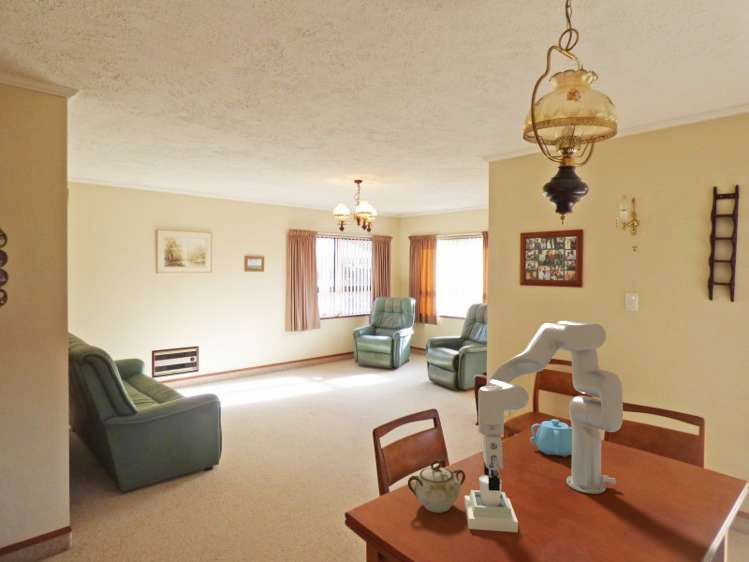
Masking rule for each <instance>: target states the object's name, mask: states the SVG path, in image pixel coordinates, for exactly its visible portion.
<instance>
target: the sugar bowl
mask: <svg viewBox="0 0 749 562" xmlns="http://www.w3.org/2000/svg"><path fill="white" fill-rule="evenodd" d="M435 464H438V465H436V466H434V465H435ZM459 474H461V475H462V477H461V480H459V479H460V478H459ZM465 480H466V473H465V471H464V470H462V469H456V470H453V471H452V470H449V469H447V468H445V467H442V462H441V461H440V460H438V459H434V460H433V461H432V462H431V464H430V467H427V468H424V469H422V470H421V471H420V472H419V473H418V474H417V475H412V476H411V475H410V477H408V480H407V486H408V489H409V490H410V491H411V492H412V493H413V495H414V496H415V497H416V498H417V499H418V500H419V502H421V504H422V505H423V506H424V508H425V509H426V510H427V511H429V512H432V513H438V514H440V513H446V512H448V511H449V510H450V509H451V507H452V506H453V505H454V503H455V502H456V501H457V500H458V498H459V496H460V493H461V489H462V485H463V484H464V482H465ZM413 481H414V482H413ZM412 482H413V487H412V485H411V484H412Z"/></svg>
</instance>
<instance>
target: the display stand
mask: <svg viewBox="0 0 749 562" xmlns="http://www.w3.org/2000/svg"><path fill="white" fill-rule="evenodd" d="M464 508H465V514H466V521H467V526H468V529H469V530H479V531H480V530H481V531H495V532H496V531H497V532H506V533H507V532H508V533H509V532H510V533H518V532H519V521H518V518H517V516H516V513H515V510H514V508H513V506H512V503H511V499H510V498H509V497H507V495H506V492H505V491H501V495H500V504H499V505H498V506H496V507H493V506H486V505H484V504H482V502H481V496H480V490H479V489H477V490H474V489H470V493H469V495H464Z"/></svg>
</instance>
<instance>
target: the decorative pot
mask: <svg viewBox="0 0 749 562" xmlns="http://www.w3.org/2000/svg"><path fill="white" fill-rule="evenodd" d="M536 427H538V429H537V432H536V433H535V428H536ZM530 430H531V433H532V436H531V437H530V438H529V440H530V443H532V444H534V445H535V444H536V447H537V448H538V450H539V451H540V452H542V453H543V455H546V456H550V455H551V456H552V455H554V456H560V457H562V456H563V458H566V457H568V456H572V426H569V425H568V424H567V423H565V422H562V421H561V422H560V420H559V419H555V418H554V419H551V420H545V421H542V422H541V423H534V424H532V426H531V429H530Z"/></svg>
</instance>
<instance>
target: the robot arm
mask: <svg viewBox="0 0 749 562" xmlns="http://www.w3.org/2000/svg"><path fill="white" fill-rule="evenodd" d="M606 340H607V332H606V330H605V328H604V326H602V325H601V324H600V323H598V322H591V321H590V322H589V321H580V320H570V319H565V320H559V321H558V322H546V323H543V324H541V325H540V327H538V329H537V331H536V332H535V334H534V335H533V336H532V338H531V339H530V341H529V342H528V343H527V345H526V346H525V347H524V349H523V351H521V353H519V354H518V355H515V356H513V357H512V358H510V359H507V361H505V362H504V363H502V364H500V365H499V366H498V367H497V368H496V369H495V370H494V372H493V373H492V374H491V376H490V377H489V378H488V381H487V382H486V385H484V386H481V387H479V389H478V391H477V401H478V402H477V403H478V407H477V408H478V411H477V413H478V414H477V415H478V433H479V434H481V435H482V439H481V440H482V442H481V443H482V456H483V460H484V463H483V468H484V469H483V470H484V471H483V473H484V475H489V476H488V484H489V490H490V491H499V490H500V479H501V478H500V470H503V469H504V461H503V460H504V459H503V443H502V442H503V441H502V436H503V435H505V427H504V426H505V425H504V424H505V423H504V421H505V420H504V419H505V418H504V417H505V415H504V411H517V410H521V409H523V408H525V407H526V406H527V405H528V403H529V398H530V397H529V393H528V390H527V389H525V388H524V387H522V386H521V385H518V384H516V383H511V382H512V381H513V380H514V379H517V378H519V377H521V376H525V375H528V374H529V375H531V374H535V373H538V372H541V371H543V370H545V369H546V367H547V366H548V364H549V363H550V361H551V360H552V359H553V357H554V356H555V354H556V353H557V351H558V350H563V351H566V352H567V351H568V352H569V353H570V358H571V372H572V376H571V377H572V384H573V385H572V386H573V388H574V389H575V390H576V391H577V392H578V393H581V394H584V395H577V396H575V397H573V398H571V400H570V401H569V404H568V405H569V406H568V413H569V417H570V419H569V420H570V424H571V426H570V427H572V430H571V432H572V454H571V461H570V463H571V469H570V470H571V472H570V474H571V475H569V476H567V477H566V484H567V485H568V487H570V488H571V489H573V490H574V491H578V492H581V493H585V494H591V495H593V494H594V495H599V494H602V493H604V492H605V491H606V488H607V486H606V484H611V485H616V482H617V481H616V478H615V477H610V476H609V475H606V474H602V436H601V433H600V430H601V431H606V432H608V433H615V432H617V431H619V430H620V429H621V427H622V424H623V420H624V407H623V404H624V402H623V401H624V400H623V399H624V398H623V385H622V381H621V379H620V377H619V376H618V374H616V373H614V372H613V371H609V370H606V369H601V368H600V366H599V356H598V351H597V349H599V348H601V347H603V345H604V344H605V342H606ZM587 395H588V396H587ZM590 396H591V397H590ZM594 397H595V398H594ZM598 398H599V399H598ZM499 469H500V470H499Z"/></svg>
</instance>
